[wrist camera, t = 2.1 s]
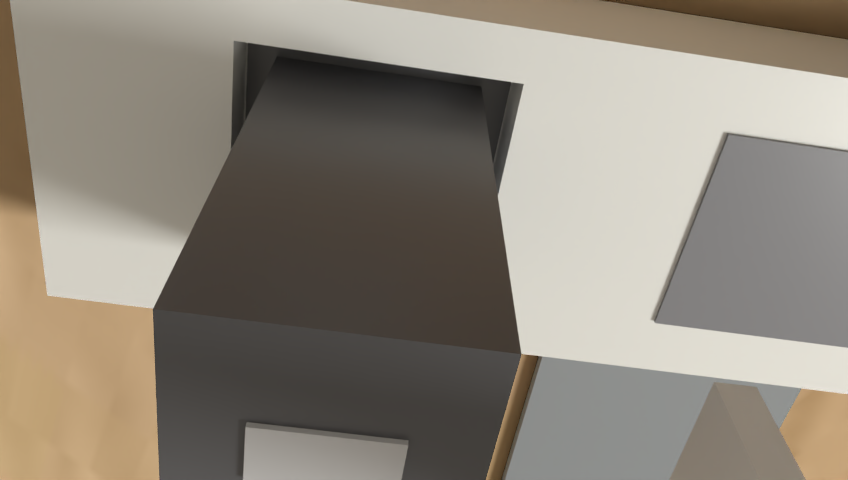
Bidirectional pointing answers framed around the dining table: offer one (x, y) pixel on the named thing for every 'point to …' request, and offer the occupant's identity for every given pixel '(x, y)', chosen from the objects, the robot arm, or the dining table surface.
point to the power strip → (511, 154)
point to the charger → (341, 290)
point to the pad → (613, 420)
